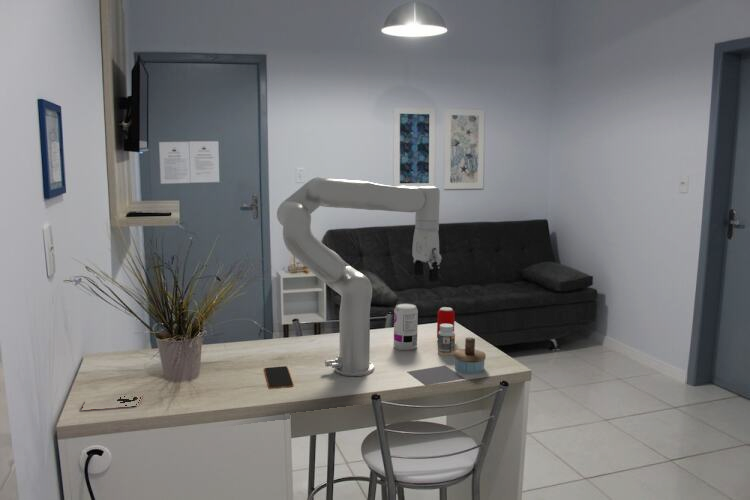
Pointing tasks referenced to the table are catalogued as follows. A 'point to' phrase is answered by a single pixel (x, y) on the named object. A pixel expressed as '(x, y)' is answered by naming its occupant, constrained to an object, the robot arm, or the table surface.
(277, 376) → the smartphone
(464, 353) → the lid
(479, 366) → the bowl
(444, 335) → the pill bottle
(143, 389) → the table surface
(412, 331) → the supplement can
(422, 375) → the mat
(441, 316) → the beverage can
